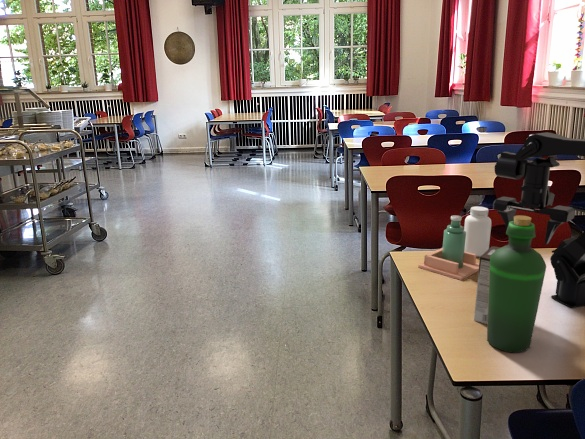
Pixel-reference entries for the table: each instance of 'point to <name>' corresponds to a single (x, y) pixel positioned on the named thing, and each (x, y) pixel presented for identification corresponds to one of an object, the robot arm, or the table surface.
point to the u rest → (450, 265)
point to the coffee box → (483, 287)
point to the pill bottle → (477, 231)
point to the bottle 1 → (454, 241)
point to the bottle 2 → (514, 288)
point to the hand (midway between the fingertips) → (528, 240)
